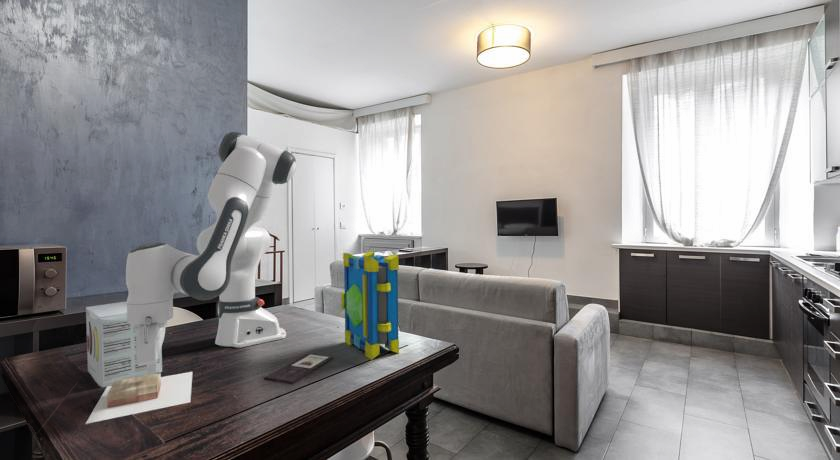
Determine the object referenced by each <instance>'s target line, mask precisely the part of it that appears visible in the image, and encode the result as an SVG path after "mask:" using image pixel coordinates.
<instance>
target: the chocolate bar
mask: <svg viewBox="0 0 840 460" xmlns="http://www.w3.org/2000/svg"><path fill="white" fill-rule="evenodd" d="M333 359H334V357H332V356H331V357H330V356H323V355H316V354H310V353H309V354H304V355H303V356H301V357H299V358H297V359H295V360H294V361H291V362H290V363H288V364H286V365H284V366H283V367H280V368H278V369H277V370H275V371H273V372H272V373H270V374H268V375H266V376H264V377H263V379H264V380H266V381H272V382H276V383H277V382H278V383H282V384H283V383H285V384H291V385H294V384H295V383H297V382H299V381H301V380H302V379H304V378H305V377H308V375H310V374H312V373H313V372H315V371H317V370H318V369H320V368H321V367H323V366H325V365H327V364H328V363H329V362H331V361H333Z"/></svg>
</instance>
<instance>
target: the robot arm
mask: <svg viewBox="0 0 840 460" xmlns="http://www.w3.org/2000/svg"><path fill="white" fill-rule="evenodd" d="M218 158H219V159H220V161H221V162H222V164H221V166H220V167H219V169H218V170H217V172H216V174H215V176H214V178H213V179H212V182H211V184H210V186H209V189H208V193H207V199H208V202H209V205H210V206H211V208H212V209H213V211H215V215H216V216H215V217H216V219H215V222H214V223H213V224H212V225H211V226H209V227H207V228H205V229H203V230H202V231H201V232H200V234H199V235H198V237H197V239H196V248H197V251H198V253H199V255H197V254H193V253H189V252H185V251H182V250H179V249H177V248H175V247H172V246H170V245H169V244H168V243H166V242H153V243H152V242H151V243H147V244H142V245H138V246H136V247H134V248H132V249H131V250H130V251H129V252H128V255H127V259H126V265H125V285H126V287H127V292H128V295H127V299H126V301H127V323H128V324H130V325H134V330H136V331H137V337H136V361H137V365H139V366H141V365H146V366H147V374H152V375H153V373H156V371H157V360H158V356H159V353H160V350H161V347H162V346H163V343H164V340H165V335H166V327H167V326H168V321H170V320H171V319H173V318H174V303H173V302H174V301H173V300H174V299H173V298H174V297H173V296H174V295H175V294H176V293H177V294H178V293H182V294H185V295H188V296H189V297H191V298H193V299H194V300H198V301H209V300H213V299H215V298H217V297H218V298H219V300H217V316H218V327H217V333H216V337H215V341H214V344H215V345H218V346H220V347H233V348H237V349H238V348H245V347H249V346H255V345H258V344H264V343H268V342H269V343H270V342H273V341H277V340H282V339H284V338H286V337H287V332H286V330H285V329H284V328H282V327H280V324H279V320H278V318H277V317H276V316H275V315H274V314H273V313H271V312H270V311H268V310H266V309H265V308H263V307H262V306H264V305H265V301H264V299H261V298H259V297H258V296H256V274H257V270H258V268H259V265H260V262H261V260H262V258H263V257H264V255H265V254H266V253H267V252H268V251H269V250H270V248H271V244H272V240H271V235H270V232H269V231H267V229H265V228H262V227H259V226H254V225H255V224H256V223H258V222H259V221H261V220H262V219H263V218H264V216H265V214H266V212H267V210H268V206H269V202H270V201H271V197H272V194H273V191H274V189H275V188H274V187H275V185H284V184H287V183H288V182H290V180H291V179H292V177H293V176H294V175H295V172H296V168H297V165H296V163H297V161H296V157H295V155H293V154H292V153H291V152H289V151H287V150H286V149H285V150H284V149H282V148H281V147H278V146H276V145H274V144H272V143H270V142H269V141H265V140H262V139H258V138H255V137H252V136H250V135H246V134H244V133H243V132H240V131H230V132H228V133H226V134H225V135H224V136H223V138H222V139H221V140H220V143H219V146H218ZM156 374H157V373H156Z"/></svg>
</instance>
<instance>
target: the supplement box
mask: <svg viewBox="0 0 840 460" xmlns="http://www.w3.org/2000/svg"><path fill="white" fill-rule="evenodd" d="M85 320H86V321H85V322H86V325H85V327H86V351H87V352H86V355H87V357H86V358H87V372H88V373H89V374H90V375H91V378H92V379H93V380H94V381H95V383H96V384H97V386H99V387H100V388H107V386H112V385H113V383H114V381H118V380H124V379H129V378H135V377H141V376H147V375H153V374H159V373H162V372H163V355H162V354H163V353H162V349H163V348H162V347H161V350H160V353H159V356H158V360H157V371H156V373H153V374H147V366H146V365H141V366H139V365H137V361H136V337H137V331H136V330H134V325H130V324H128V323H127V300H126V301H119V302H113V303H106V304H98V305H93V306H92V305H91V306H85Z"/></svg>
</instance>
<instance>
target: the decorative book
mask: <svg viewBox="0 0 840 460" xmlns="http://www.w3.org/2000/svg"><path fill="white" fill-rule="evenodd" d="M399 261H400V260H399V255H398V254H390V255H388V256H384V255H383V254H382V255H381V254H376V255H375V251H372V250H371V251H370V250H368V251H367V252H366V253H364V254H362V256H359V255H358V256H357V255H356V256H355V255H353V254H351V253H348V252H343V266H344V267H343V268H344V273H343V274H344V291H343V292H341V291H340V292H341V296H340V297H341V298H340V299H341V302H340V304H341V310H343V309H344V342H345V343H346V344H347V345H348V346H352V345H354V346H356V348H358V349H361V350H363V351H364V356H365V357H366V358H368V359H369V360H370V361H372V360H374V359H375V358H376V357H378V356H379V355H380V350H381V349H380V345H384V348H386V349H387V350H389V351H391V352H393V353H397V354H399V353H400V339H399V294H398V293H399V292H398V291H399V288H398V287H399V286H398V284H399V279H398V278H399V277H398V276H399V275H398V271H399Z"/></svg>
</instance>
